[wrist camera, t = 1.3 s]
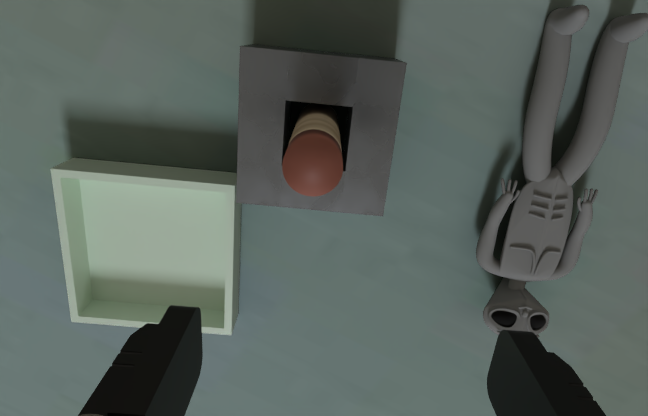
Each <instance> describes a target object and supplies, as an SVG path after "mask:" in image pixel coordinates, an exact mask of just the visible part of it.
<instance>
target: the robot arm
mask: <svg viewBox="0 0 648 416" xmlns="http://www.w3.org/2000/svg"><path fill="white" fill-rule="evenodd" d="M201 365H202V326H201V310H200V308H199V307H189V306H175V305H171V306H169V307H168V309H167V311H166V312H165V314H164V316H163V318H162V319H161V321H160V323H159V324H151V323H147V324H145V325H144V326H143V327H141V328H140V329H139V330H137V331H136V332H135V333H133V334H132V335H131V336H130V337H129V339H128V340H127V342H126V343H125V345H124V346H123V348H122V349H121V352H120V354H118V355H117V357H116V358H115V360H114V361H113V363H112V366H110V368H109V369H108V371H107V372H106V374H105V375H104V377H103V378H102V380H101V381H100V383H99V384H98V386H97V388H96V389H95V391H94V392H93V394H92V395H91V397H90V398H89V400H88V401H87V403H86V404H85V406H84V407H83V409H82V410H81V412H80V414H79V415H78V416H184V415H185V413H186V410H187V407H188V405H189V402H190V399H191V397H192V394H193V392H194V389H195V386H196V384H197V381H198V378H199V375H200V371H201ZM487 389H488V395H489V399H490V401H491V403H492V406H493V408H494V410H495V413H496V415H497V416H606V415H605V413H604V412H603V411H602V409H601V408H600V406H599V405H598V404H597V402H596V401H593V397H592V395H591V394H590V392H589V391H588V390H587V388H586V387H584V386H583V383H582V381H581V380H580V378H579V377H578V376H577V374H576V373H575V371H574V370H573V369H572V367H571V366H569V365H568V364H567V363H566V362H564V361H563V360H562V359H561V358H560V357H558V356H557V355H556V354H555V353H550V352H547V351H546V349H545V348H544V346H543V345H542V343H541V342H540V340H539V339H538V338H537V336H536V335H535V334H534V333H533V332H529V331H515V330H502V331H501V332H500V333H499V336H498V339H497V343H496V346H495V350H494V354H493V357H492V361H491V365H490V368H489V372H488V377H487Z"/></svg>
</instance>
